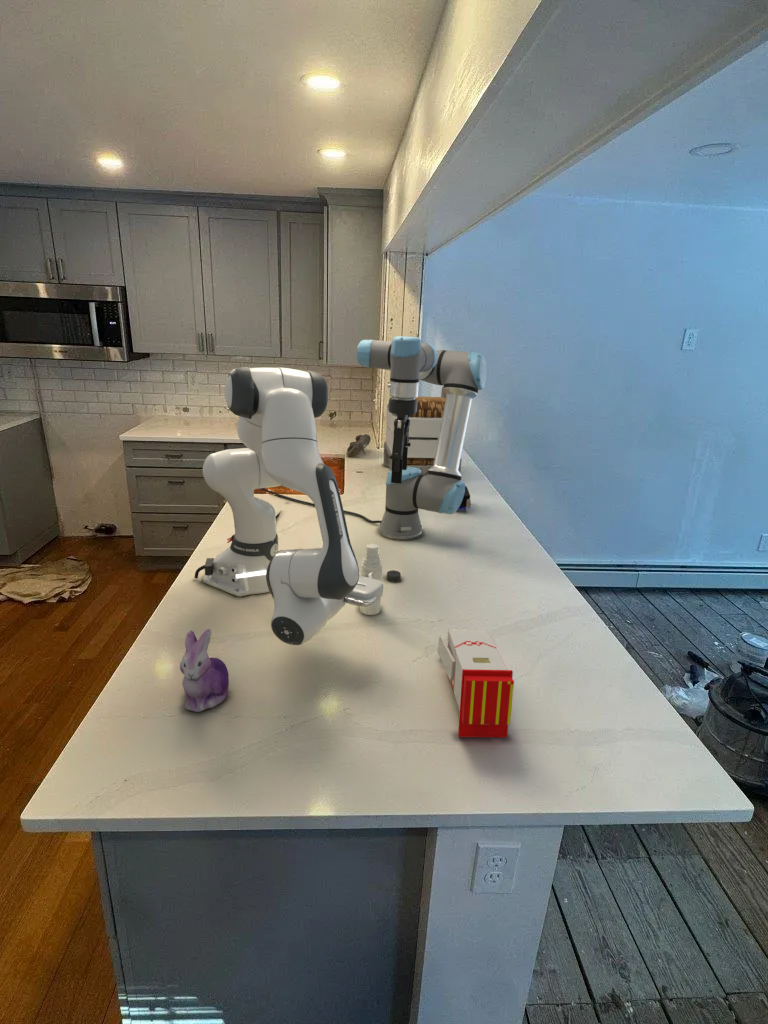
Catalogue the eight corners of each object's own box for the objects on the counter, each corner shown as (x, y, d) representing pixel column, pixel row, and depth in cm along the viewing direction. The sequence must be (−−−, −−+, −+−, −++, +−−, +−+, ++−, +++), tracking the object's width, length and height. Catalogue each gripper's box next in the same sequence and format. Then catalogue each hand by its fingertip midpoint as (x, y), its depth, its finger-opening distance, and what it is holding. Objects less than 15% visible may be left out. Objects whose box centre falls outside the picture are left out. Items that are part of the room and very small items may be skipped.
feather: (288, 505, 226) (290, 501, 226) (271, 529, 199) (273, 524, 199) (284, 503, 226) (287, 499, 225) (266, 526, 199) (269, 522, 199)
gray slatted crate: (382, 463, 289) (386, 382, 275) (445, 464, 293) (451, 384, 279) (390, 482, 257) (394, 392, 243) (460, 483, 261) (468, 394, 247)
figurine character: (470, 516, 223) (465, 500, 237) (473, 499, 220) (467, 484, 233) (453, 516, 223) (449, 500, 236) (455, 498, 220) (451, 483, 233)
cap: (389, 582, 164) (389, 577, 163) (384, 576, 168) (384, 571, 167) (402, 581, 165) (402, 575, 165) (397, 575, 169) (397, 569, 168)
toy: (488, 613, 130) (523, 677, 101) (484, 667, 133) (517, 744, 104) (435, 612, 130) (455, 676, 101) (432, 666, 133) (451, 743, 103)
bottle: (356, 606, 150) (358, 543, 144) (375, 603, 152) (378, 540, 146) (364, 616, 146) (366, 551, 139) (383, 612, 148) (386, 548, 142)
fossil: (346, 440, 316) (367, 425, 311) (357, 453, 319) (378, 438, 314) (340, 453, 296) (362, 438, 291) (351, 468, 299) (374, 452, 294)
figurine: (186, 720, 107) (180, 652, 102) (178, 689, 115) (171, 624, 110) (237, 706, 111) (233, 640, 106) (225, 677, 119) (221, 615, 114)
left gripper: (370, 593, 117) (394, 567, 129) (284, 572, 124) (314, 549, 136) (369, 620, 119) (392, 591, 131) (284, 598, 126) (314, 573, 138)
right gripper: (394, 390, 161) (391, 463, 168) (382, 404, 137) (379, 487, 145) (421, 392, 160) (416, 465, 167) (413, 406, 137) (408, 490, 144)
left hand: (352, 570), depth 134 cm, fingers open, 8 cm apart
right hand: (399, 475), depth 156 cm, fingers open, 13 cm apart
